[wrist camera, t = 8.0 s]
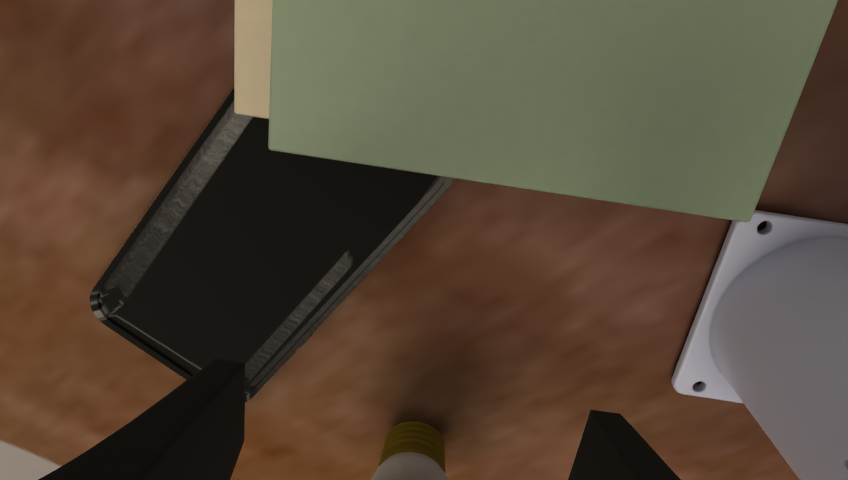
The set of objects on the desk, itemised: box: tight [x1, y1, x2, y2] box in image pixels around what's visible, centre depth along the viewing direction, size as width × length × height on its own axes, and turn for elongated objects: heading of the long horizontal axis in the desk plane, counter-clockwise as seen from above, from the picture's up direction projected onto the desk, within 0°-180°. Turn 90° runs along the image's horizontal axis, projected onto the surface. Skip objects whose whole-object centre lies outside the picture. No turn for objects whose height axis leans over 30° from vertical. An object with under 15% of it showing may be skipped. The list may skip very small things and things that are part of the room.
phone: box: [90, 89, 454, 402], centre depth 21 cm, size 8×1×15 cm
